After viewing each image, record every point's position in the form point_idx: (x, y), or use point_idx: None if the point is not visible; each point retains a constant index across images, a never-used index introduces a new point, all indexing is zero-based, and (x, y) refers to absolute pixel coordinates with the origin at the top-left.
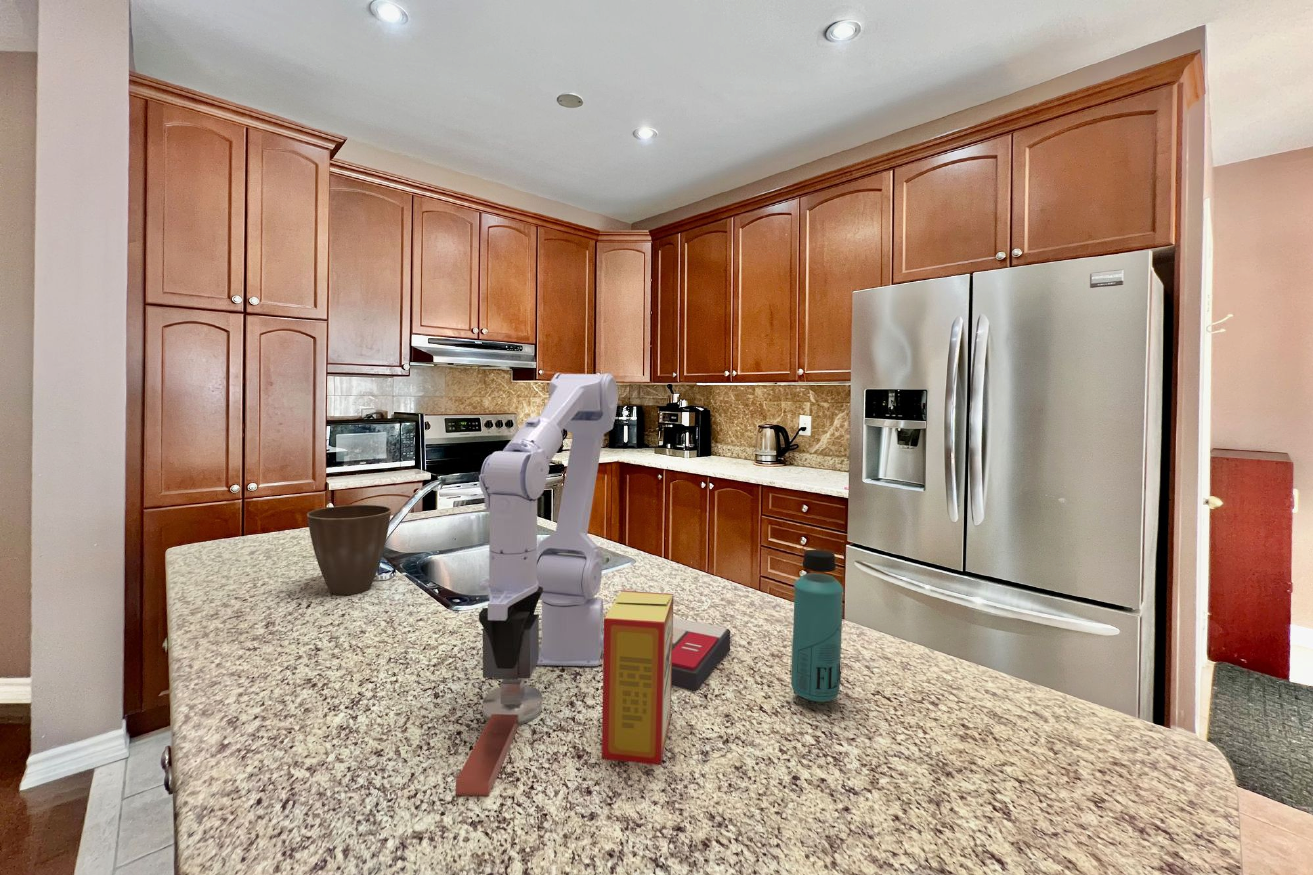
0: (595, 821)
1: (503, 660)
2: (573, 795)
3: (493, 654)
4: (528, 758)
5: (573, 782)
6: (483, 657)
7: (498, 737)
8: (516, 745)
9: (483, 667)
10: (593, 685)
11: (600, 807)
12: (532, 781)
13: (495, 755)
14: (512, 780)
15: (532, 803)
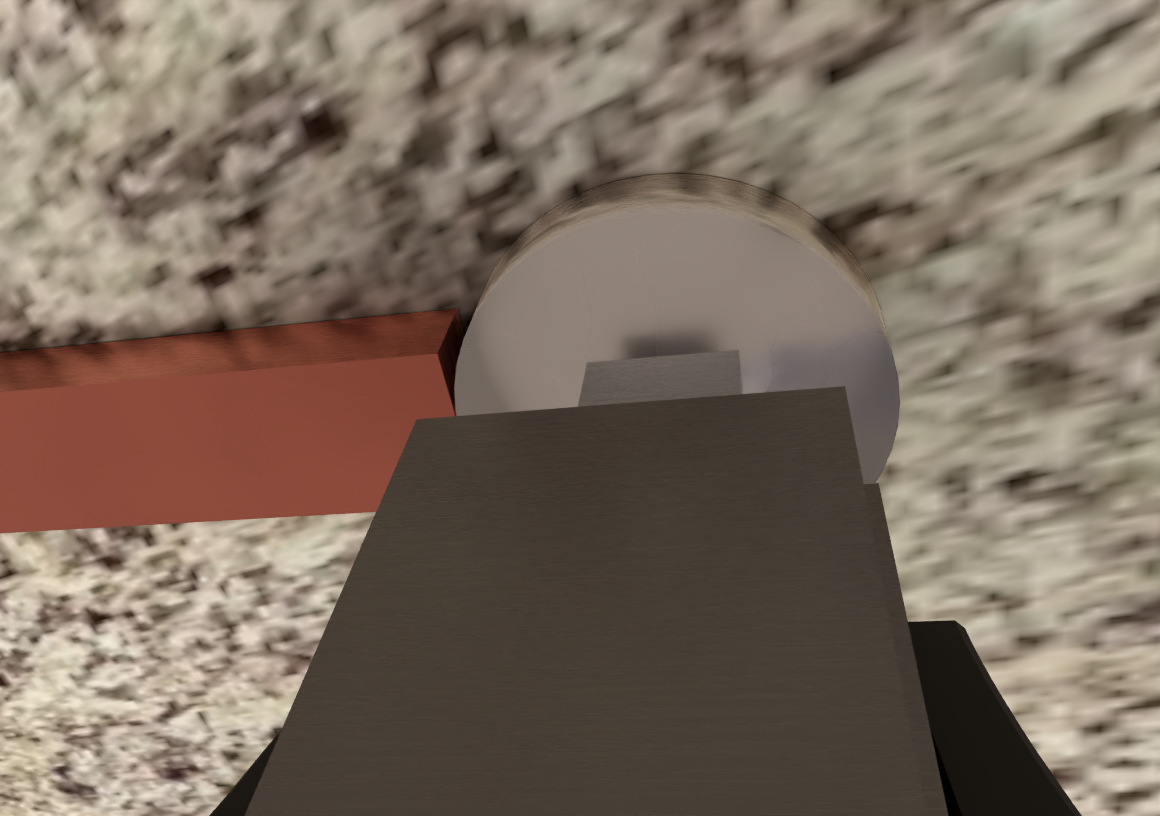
0: (60, 798)
1: None
2: (133, 738)
3: (270, 744)
4: (259, 565)
5: (196, 730)
6: (357, 568)
7: (223, 472)
8: None
9: (393, 489)
10: (1041, 711)
11: (123, 804)
12: (128, 612)
13: (76, 510)
14: (93, 545)
15: (22, 637)
